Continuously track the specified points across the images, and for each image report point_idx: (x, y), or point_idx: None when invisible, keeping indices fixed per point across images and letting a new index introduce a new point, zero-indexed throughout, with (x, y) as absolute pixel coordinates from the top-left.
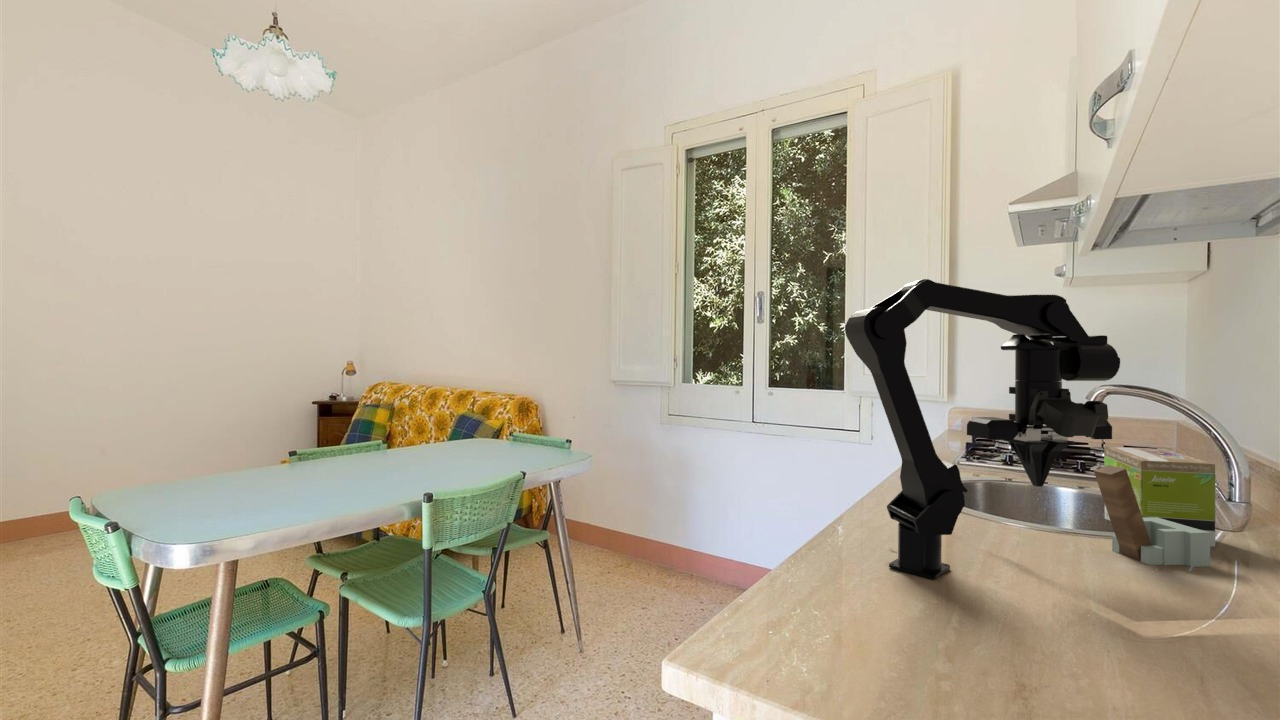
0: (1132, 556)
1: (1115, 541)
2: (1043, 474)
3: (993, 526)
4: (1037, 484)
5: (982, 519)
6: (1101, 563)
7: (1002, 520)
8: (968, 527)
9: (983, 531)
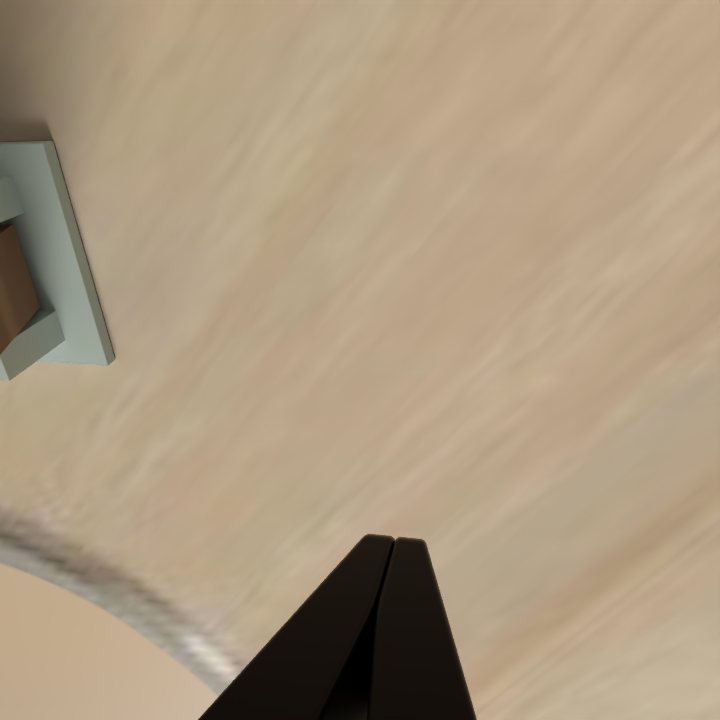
0: (16, 263)
1: (17, 356)
2: (351, 629)
3: None
4: (428, 552)
5: None
6: (145, 288)
7: None
8: None
9: None
